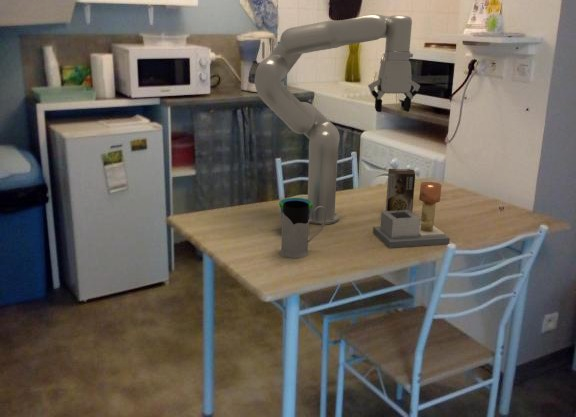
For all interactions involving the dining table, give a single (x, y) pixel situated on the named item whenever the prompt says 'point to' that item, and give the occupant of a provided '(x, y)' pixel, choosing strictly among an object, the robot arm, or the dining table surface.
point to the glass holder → (296, 229)
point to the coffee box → (400, 189)
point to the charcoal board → (410, 240)
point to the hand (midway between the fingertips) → (392, 111)
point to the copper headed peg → (429, 204)
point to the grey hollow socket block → (400, 224)
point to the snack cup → (295, 200)
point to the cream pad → (433, 233)
